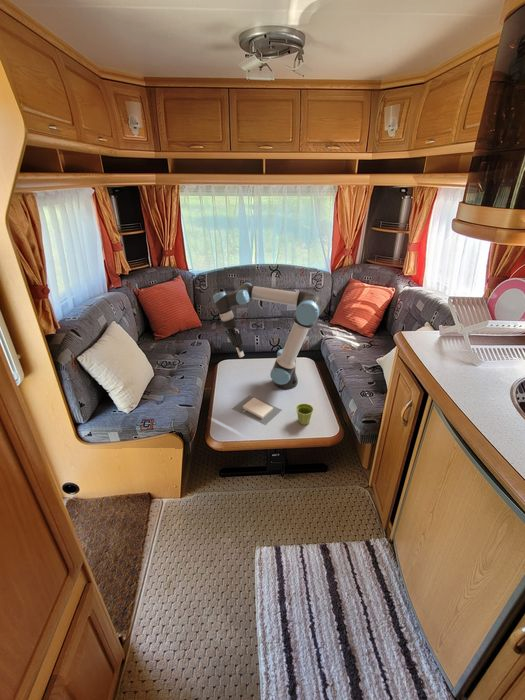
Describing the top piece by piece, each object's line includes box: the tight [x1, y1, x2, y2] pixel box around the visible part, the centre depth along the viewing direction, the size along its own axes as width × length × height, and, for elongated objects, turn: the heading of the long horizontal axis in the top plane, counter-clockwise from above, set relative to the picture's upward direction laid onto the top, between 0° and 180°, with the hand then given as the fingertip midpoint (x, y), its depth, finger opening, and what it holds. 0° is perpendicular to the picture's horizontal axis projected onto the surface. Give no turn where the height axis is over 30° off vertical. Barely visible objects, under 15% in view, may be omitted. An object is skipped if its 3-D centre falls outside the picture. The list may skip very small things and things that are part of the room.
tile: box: [243, 397, 273, 419], centre depth 196 cm, size 2×10×14 cm
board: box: [231, 394, 283, 426], centre depth 197 cm, size 24×16×2 cm, turn 53°
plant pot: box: [295, 403, 315, 426], centre depth 187 cm, size 9×9×9 cm
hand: (241, 356), depth 203 cm, fingers closed
